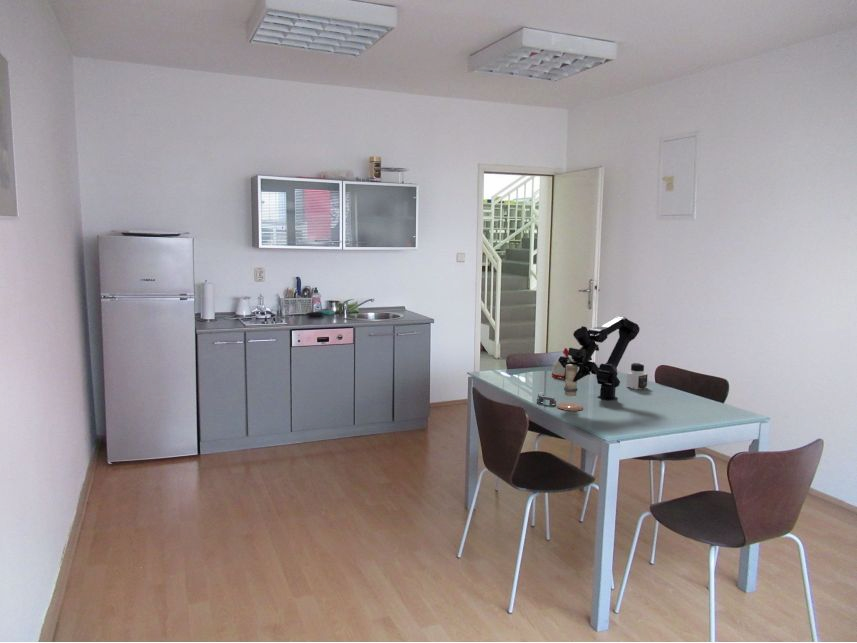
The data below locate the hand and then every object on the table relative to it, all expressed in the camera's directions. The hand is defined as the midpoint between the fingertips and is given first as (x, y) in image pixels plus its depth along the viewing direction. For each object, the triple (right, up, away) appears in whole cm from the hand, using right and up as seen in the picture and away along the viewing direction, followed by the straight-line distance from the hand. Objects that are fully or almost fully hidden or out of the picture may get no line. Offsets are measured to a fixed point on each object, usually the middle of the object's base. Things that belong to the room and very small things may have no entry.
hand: (569, 380), depth 275 cm
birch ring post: (+1, -6, +2) cm, 7 cm away
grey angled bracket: (-9, -11, +11) cm, 18 cm away
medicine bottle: (+42, -7, +40) cm, 59 cm away
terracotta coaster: (+1, -12, +2) cm, 12 cm away
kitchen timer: (+12, -4, +65) cm, 66 cm away
